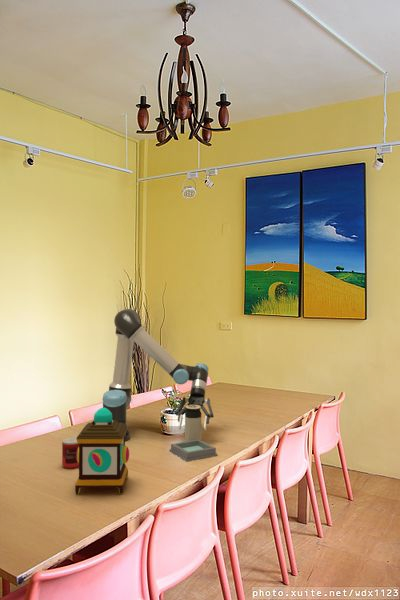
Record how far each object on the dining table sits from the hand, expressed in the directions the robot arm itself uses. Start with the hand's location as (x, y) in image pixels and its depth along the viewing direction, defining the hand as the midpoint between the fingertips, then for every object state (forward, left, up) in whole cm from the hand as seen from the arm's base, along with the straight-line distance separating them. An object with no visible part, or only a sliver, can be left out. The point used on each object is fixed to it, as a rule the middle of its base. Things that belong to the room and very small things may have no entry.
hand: (192, 428), depth 245 cm
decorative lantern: (-55, -28, -8) cm, 63 cm away
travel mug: (+2, +2, -8) cm, 8 cm away
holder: (-6, -12, -8) cm, 16 cm away
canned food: (-59, -1, -8) cm, 60 cm away
